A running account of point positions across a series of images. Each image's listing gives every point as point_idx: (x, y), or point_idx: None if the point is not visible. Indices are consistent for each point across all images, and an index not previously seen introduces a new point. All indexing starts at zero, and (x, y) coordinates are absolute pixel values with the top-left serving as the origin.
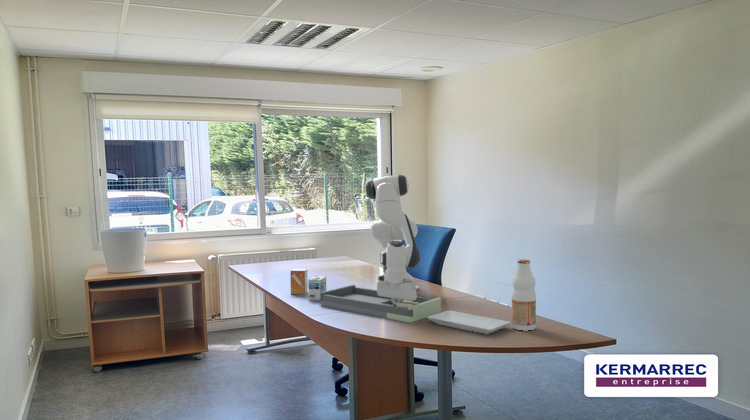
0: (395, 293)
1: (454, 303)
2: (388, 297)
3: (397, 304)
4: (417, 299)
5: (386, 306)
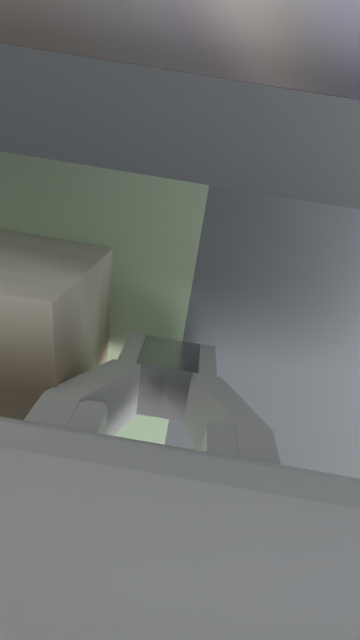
0: (16, 623)
1: None
2: (356, 478)
3: (38, 285)
4: None
5: (236, 82)
